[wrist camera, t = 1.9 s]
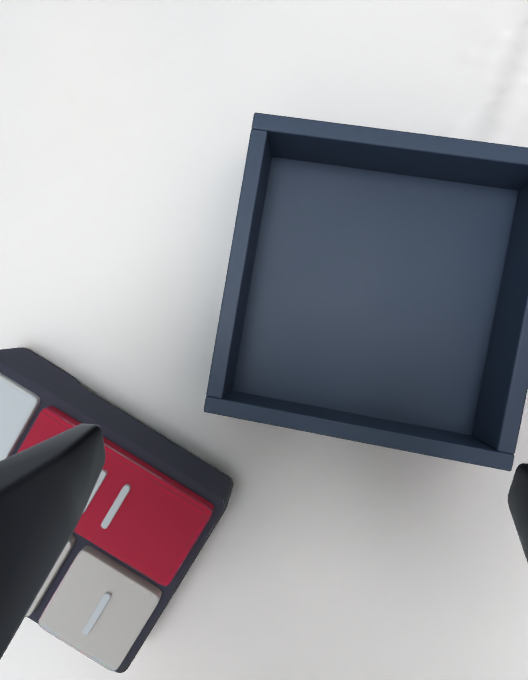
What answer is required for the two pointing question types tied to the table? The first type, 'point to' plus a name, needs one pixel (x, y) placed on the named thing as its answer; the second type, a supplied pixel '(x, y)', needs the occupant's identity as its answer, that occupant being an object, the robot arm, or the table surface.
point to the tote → (378, 290)
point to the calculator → (111, 513)
